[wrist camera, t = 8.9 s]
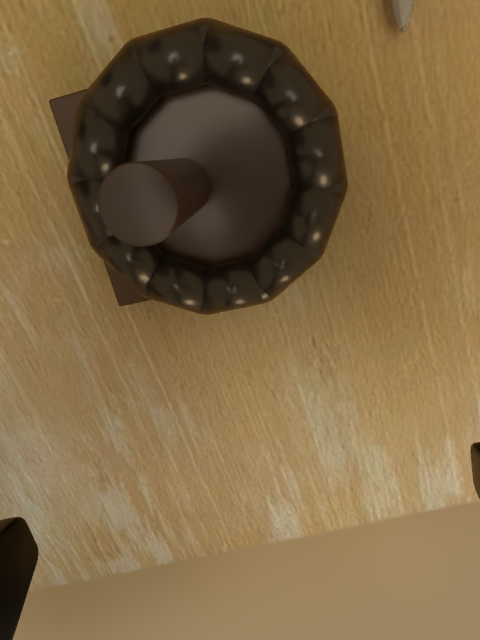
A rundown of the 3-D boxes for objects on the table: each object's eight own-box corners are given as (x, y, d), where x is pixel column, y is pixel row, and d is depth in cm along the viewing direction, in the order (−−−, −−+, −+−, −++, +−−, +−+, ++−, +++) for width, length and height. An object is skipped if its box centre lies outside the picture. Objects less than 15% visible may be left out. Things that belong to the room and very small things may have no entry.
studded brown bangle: (358, 275, 18) (367, 288, 16) (128, 323, 19) (115, 340, 17) (314, -7, 15) (320, -27, 13) (43, 74, 16) (17, 65, 14)
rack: (307, 259, 19) (331, 324, 12) (126, 299, 20) (47, 380, 13) (266, 43, 16) (264, -41, 9) (59, 103, 17) (-86, 68, 10)
